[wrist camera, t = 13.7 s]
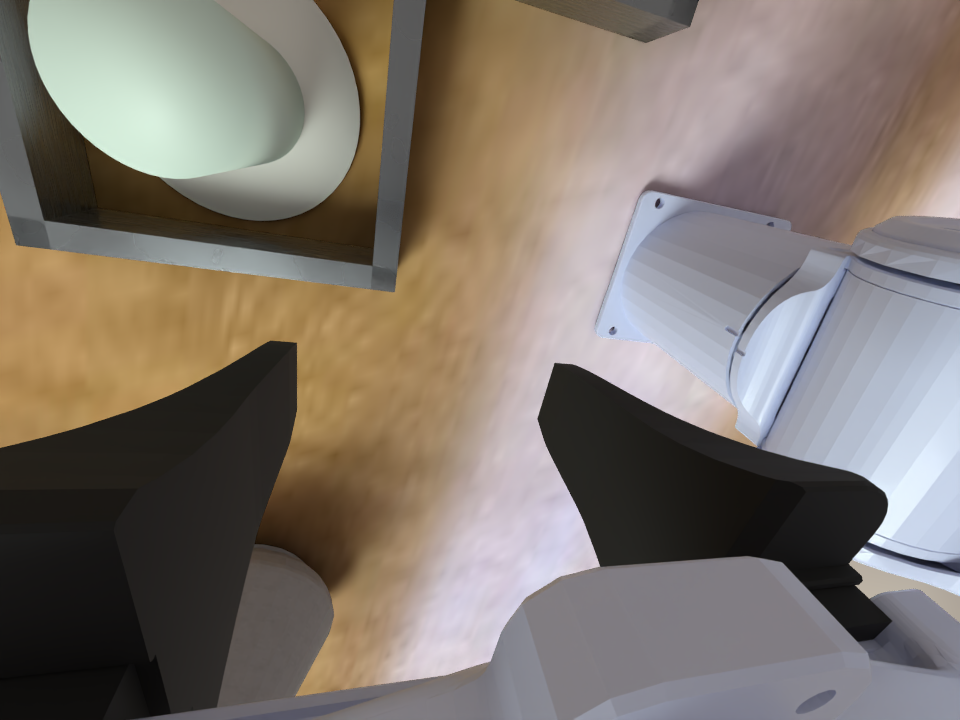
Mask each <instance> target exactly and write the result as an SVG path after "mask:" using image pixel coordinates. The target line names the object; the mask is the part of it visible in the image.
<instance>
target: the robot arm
mask: <svg viewBox="0 0 960 720" xmlns="http://www.w3.org/2000/svg"><path fill="white" fill-rule="evenodd" d="M659 198H660V204H659V206H658V207H655V202H656V200H657V199H659ZM767 224H768V226H767ZM790 230H791V222H790V221H788V220H784V219H779V218H775V217H770V216H766V215H761V214H757V213H752V212H748V211H743V210H739V209H734V208H729V207H725V206H720V205H716V204H711V203H707V202H702V201H698V200H693V199H689V198H684V197H680V196H675V195H671V194H666V193H662V192H657V191H653V190H647V191H645V192H643V193H642V194H641V196H640V198H639V200H638V203H637V206H636V209H635V212H634V214H633V217H632V220H631V223H630V226H629V229H628V232H627V235H626V238H625V241H624V244H623V246H622V249H621V252H620V255H619V258H618V261H617V264H616V267H615V270H614V273H613V276H612V278H611V281H610V284H609V287H608V290H607V293H606V296H605V299H604V302H603V305H602V308H601V310H600V313H599V316H598V319H597V322H596V325H595V333H596V334H597V335H598V336H599V337H602V338H610V339H619V340H628V341H637V342H646V343H654V344H656V345H657V346H658V347H659V348H661V349H662V350H663V351H664V352H666V353H667V354H668V355H670V356H671V357H672V358H673V359H675V360H676V361H677V362H679V363H680V364H681V365H682V366H684V367H685V368H686V369H687V370H689V371H690V372H691V373H693V374H694V375H695V376H696V377H698V378H699V379H700V380H701V381H703V382H704V383H705V384H707V385H708V386H709V387H710V388H712V389H713V390H714V391H715V392H717V393H718V394H719V395H721V396H722V397H723V398H724V399H726V400H727V401H728V402H730V403H731V404H732V405H733V406H735V407H736V408H737V409H738V419H737V422H736V425H735V428H736V429H738V430H739V431H740V432H741V433H742V434H744V435H745V436H746V437H747V438H748V439H749V440H751V441H752V442H753V443H754V444H755V445H757V446H758V447H757V448H755V447H752V446H749V445H746V444H743V443H740V442H737V441H734V440H731V439H729V438H726V437H723V436H720V435H717V434H714V433H712V432H709V431H707V430H704V429H702V428H699V427H697V426H695V425H692V424H690V423H688V422H685V421H683V420H681V419H678V418H676V417H674V416H672V415H670V414H668V413H665V412H663V411H661V410H660V409H658V408H656V407H654V406H652V405H650V404H648V403H646V402H644V401H642V400H640V399H638V398H636V397H635V396H633V395H631V394H629V393H627V392H626V391H624V390H622V389H620V388H618V387H617V386H615V385H613V384H611V383H609V382H608V381H606V380H604V379H602V378H600V377H599V376H597V375H595V374H593V373H591V372H589V371H587V370H585V369H583V368H581V367H578V366H576V365H573V364H560V363H555V364H554V367H553V370H552V374H551V377H550V380H549V383H548V386H547V390H546V393H545V396H544V399H543V403H542V406H541V409H540V412H539V416H538V422H539V425H540V429H541V432H542V435H543V438H544V441H545V444H546V447H547V449H548V451H549V453H550V455H551V457H552V459H553V461H554V463H555V465H556V467H557V469H558V471H559V473H560V475H561V477H562V479H563V480H564V482H565V484H566V486H567V488H568V490H569V492H570V494H571V496H572V498H573V500H574V502H575V504H576V506H577V508H578V510H579V512H580V514H581V517H582V519H583V521H584V523H585V526H586V529H587V531H588V534H589V537H590V539H591V542H592V544H593V547H594V550H595V552H596V555H597V558H598V561H599V564H600V567H597V568H593V569H589V570H585V571H581V572H577V573H573V574H569V575H565V576H561V577H559V578H557V579H556V580H554V581H552V582H551V583H549V584H548V585H546V586H544V587H543V588H541V589H539V590H538V591H536V592H534V593H533V594H531V595H530V596H528V597H526V598H525V600H524V601H523V602H522V604H521V605H520V606H519V608H518V609H517V610H516V612H515V613H514V614H513V616H512V617H511V618H510V620H509V621H508V622H507V624H506V625H505V627H504V629H503V630H502V632H501V635H500V637H499V640H498V643H497V646H496V648H495V651H494V654H493V657H492V660H491V662H487V663H484V664H480V665H477V666H474V667H471V668H468V669H465V670H461V671H458V672H455V673H452V674H449V675H446V676H438V677H431V678H424V679H417V680H410V681H403V682H396V683H389V684H381V685H374V686H367V687H360V688H353V689H346V690H339V691H332V692H325V693H317V694H310V695H303V696H296V697H289V698H282V699H275V700H268V701H260V702H253V703H246V704H239V705H232V706H225V707H218V708H217V705H218V700H219V695H220V690H221V685H222V681H223V676H224V671H225V667H226V662H227V658H228V653H229V649H230V644H231V640H232V635H233V631H234V626H235V622H236V618H237V613H238V609H239V605H240V601H241V596H242V592H243V588H244V584H245V580H246V575H247V571H248V567H249V563H250V559H251V555H252V551H253V547H254V543H255V540H256V536H257V532H258V529H259V526H260V523H261V519H262V516H263V514H264V511H265V508H266V506H267V503H268V500H269V498H270V495H271V492H272V490H273V487H274V484H275V482H276V479H277V476H278V473H279V471H280V468H281V465H282V463H283V460H284V457H285V455H286V452H287V449H288V446H289V443H290V440H291V435H292V431H293V426H294V422H295V417H296V412H297V343H293V342H280V341H269V342H267V343H265V344H263V345H262V346H260V347H258V348H257V349H255V350H253V351H252V352H250V353H249V354H247V355H245V356H244V357H242V358H240V359H239V360H237V361H235V362H233V363H232V364H230V365H228V366H227V367H225V368H223V369H222V370H220V371H218V372H216V373H214V374H212V375H210V376H208V377H206V378H204V379H202V380H200V381H199V382H197V383H195V384H193V385H191V386H189V387H187V388H185V389H183V390H181V391H178V392H176V393H174V394H172V395H169V396H167V397H165V398H162V399H160V400H157V401H155V402H152V403H150V404H147V405H145V406H142V407H140V408H137V409H134V410H132V411H129V412H126V413H123V414H119V415H116V416H113V417H110V418H107V419H104V420H101V421H98V422H95V423H92V424H89V425H86V426H83V427H80V428H76V429H73V430H69V431H65V432H62V433H58V434H54V435H51V436H47V437H43V438H39V439H35V440H31V441H27V442H23V443H19V444H15V445H11V446H7V447H2V448H0V720H960V623H959V622H958V621H957V620H956V619H954V618H953V617H952V616H951V615H950V614H948V613H947V612H946V611H945V610H943V609H942V608H941V607H940V606H939V605H938V604H936V603H935V602H934V601H933V600H932V599H931V598H929V597H928V596H927V595H926V594H925V593H923V592H922V591H921V590H918V589H909V590H899V591H891V592H884V593H880V594H878V595H876V596H874V597H872V598H870V599H869V598H868V597H867V596H866V595H865V594H863V593H862V592H861V591H860V590H859V589H858V588H857V587H856V586H855V585H859V584H860V583H861V582H862V581H863V580H862V576H861V575H860V574H859V573H858V572H857V571H856V570H855V569H853V568H852V567H851V566H850V565H849V563H850V561H851V560H854V561H856V562H859V563H861V564H864V565H867V566H870V567H873V568H876V569H879V570H882V571H884V572H888V573H891V574H895V575H898V576H902V577H905V578H909V579H913V580H916V581H920V582H924V583H927V584H929V585H932V586H935V587H938V588H941V589H944V590H946V591H949V592H951V593H953V594H956V595H958V596H960V219H956V218H944V217H928V216H895V217H892V218H890V219H888V220H886V221H884V222H882V223H879V224H877V225H876V226H875V227H871V228H866V229H863V230H861V231H860V232H859V233H858V234H857V236H856V238H855V240H854V242H853V244H852V245H848V244H843V243H839V242H835V241H831V240H826V239H822V238H818V237H814V236H809V235H805V234H801V233H797V232H792V231H790ZM612 327H614V329H613V331H611V332H609V330H610V328H612Z"/></svg>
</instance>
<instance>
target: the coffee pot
mask: <svg viewBox="0 0 960 720" xmlns="http://www.w3.org/2000/svg"><path fill="white" fill-rule="evenodd" d="M333 618H334V611H333V605H332V600H331V596H330V594H329V591H328V588H327V586H326V585H325V583H324V582H323V581H322V579H321V578H320V576H319V575H318V574H317V573H316V572H315V571H314V570H313V569H311V568H310V567H309V566H307V565H306V564H305V563H304V562H303V561H302V560H301V559H300V558H298V557H297V556H296V555H294V554H293V553H290V552H288V551H286V550H284V549H281V548H278V547H273V546H269V545H263V544H254V547H253V551H252V555H251V559H250V563H249V567H248V571H247V575H246V580H245V584H244V588H243V592H242V596H241V601H240V605H239V609H238V613H237V618H236V622H235V626H234V631H233V635H232V640H231V644H230V649H229V653H228V658H227V662H226V667H225V671H224V676H223V681H222V685H221V690H220V695H219V700H218V705H217V708H218V707H225V706H232V705H239V704H246V703H253V702H260V701H268V700H275V699H282V698H289V697H295V695H296V694H297V692H298V690H299V688H300V686H301V684H302V682H303V681H304V679H305V677H306V675H307V673H308V671H309V670H310V668H311V666H312V664H313V662H314V660H315V658H316V657H317V655H318V653H319V651H320V649H321V647H322V645H323V644H324V642H325V640H326V638H327V636H328V634H329V632H330V629H331V625H332V621H333Z"/></svg>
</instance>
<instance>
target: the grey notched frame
mask: <svg viewBox="0 0 960 720" xmlns="http://www.w3.org/2000/svg"><path fill="white" fill-rule="evenodd" d="M516 1H519V2H522V3H525V4H528V5H531V6H535V7H538V8H541V9H544V10H547V11H550V12H553V13H556V14H559V15H562V16H565V17H568V18H571V19H574V20H577V21H580V22H583V23H587V24H590V25H593V26H596V27H599V28H602V29H605V30H608V31H611V32H614V33H617V34H620V35H623V36H626V37H629V38H632V39H635V40H638V41H642V42H645V43H647V42H650V41H653V40H655V39H658V38H661V37H664V36H666V35H669V34H672V33H674V32H677V31H680V30H683V29H685V28H688V27H690V25H691V22H692V19H693V16H694V13H695V10H696V7H697V4H698V1H699V0H516ZM29 2H30V0H0V192H1V196H2V199H3V202H4V206H5V209H6V213H7V216H8V219H9V223H10V226H11V229H12V233H13V236H14V239H15V243H16V245H19V246H27V247H36V248H44V249H52V250H60V251H68V252H76V253H84V254H92V255H100V256H108V257H116V258H124V259H132V260H140V261H148V262H156V263H164V264H172V265H180V266H188V267H196V268H204V269H212V270H220V271H228V272H236V273H244V274H252V275H260V276H268V277H276V278H284V279H292V280H301V281H309V282H317V283H325V284H333V285H341V286H349V287H357V288H365V289H373V290H381V291H389V292H395V285H396V275H397V266H398V257H399V248H400V238H401V229H402V220H403V210H404V201H405V192H406V182H407V173H408V164H409V154H410V145H411V136H412V126H413V117H414V108H415V99H416V89H417V80H418V71H419V61H420V52H421V43H422V33H423V24H424V15H425V5H426V0H394V6H393V18H392V31H391V43H390V55H389V68H388V80H387V93H386V105H385V118H384V130H383V143H382V155H381V167H380V180H379V192H378V205H377V217H376V230H375V242H374V249H372V248H365V247H358V246H351V245H345V244H338V243H331V242H325V241H318V240H311V239H305V238H298V237H291V236H284V235H278V234H271V233H264V232H258V231H251V230H244V229H237V228H231V227H224V226H217V225H211V224H204V223H197V222H191V221H184V220H177V219H170V218H164V217H157V216H150V215H144V214H137V213H130V212H123V211H117V210H110V209H103V208H97V203H96V198H95V193H94V188H93V183H92V179H91V174H90V169H89V164H88V159H87V154H86V149H85V144H84V139H83V135H82V134H81V133H80V132H79V131H78V130H77V129H76V128H75V127H74V126H73V125H72V124H71V123H70V121H69V120H68V119H67V118H66V117H65V115H64V114H63V113H62V112H61V111H60V109H59V108H58V106H57V105H56V103H55V102H54V100H53V99H52V97H51V96H50V94H49V92H48V90H47V89H46V87H45V85H44V83H43V81H42V79H41V77H40V74H39V72H38V70H37V67H36V65H35V61H34V58H33V55H32V52H31V47H30V42H29V36H28V9H29Z"/></svg>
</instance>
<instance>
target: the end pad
mask: <svg viewBox="0 0 960 720" xmlns="http://www.w3.org/2000/svg"><path fill="white" fill-rule="evenodd" d="M214 1H216V2H217V3H218V4H219V5H221V6H222V7H223V8H225V9H226V10H227V11H228V12H230V13H231V14H232V15H233V16H235V17H236V18H237V19H239V20H240V21H241V22H242V23H244V24H245V25H246V26H247V27H249V28H250V29H251V30H253V31H254V32H255V33H256V34H258V35H259V36H260V37H261V38H263V39H264V40H265V41H267V42H268V43H269V44H270V45H272V46H273V47H274V48H275V49H276V50H277V51H278V52H279V53H280V54H281V56H282V57H283V58H284V59H285V60H286V62H287V63H288V65H289V66H290V68H291V69H292V71H293V73H294V75H295V76H296V78H297V81H298V83H299V86H300V89H301V92H302V96H303V101H304V111H305V115H304V124H303V129H302V132H301V135H300V137H299V139H298V141H297V143H296V144H295V146H294V147H293V149H292V150H291V151H290V152H289V153H288V154H286V155H285V156H283V157H282V158H280V159H278V160H276V161H273V162H270V163H266V164H261V165H256V166H251V167H246V168H241V169H236V170H231V171H227V172H222V173H217V174H212V175H207V176H202V177H196V178H190V179H172V178H163V177H160V178H161V179H162V180H163V181H165V182H166V183H167V184H168V185H169V186H171V187H172V188H174V189H175V190H176V191H178V192H179V193H180V194H182V195H183V196H185V197H187V198H189V199H190V200H192V201H194V202H195V203H197V204H199V205H201V206H204V207H206V208H208V209H210V210H212V211H215V212H218V213H221V214H224V215H227V216H230V217H235V218H240V219H245V220H255V221H271V220H279V219H285V218H290V217H293V216H296V215H299V214H302V213H304V212H306V211H308V210H310V209H312V208H314V207H315V206H317V205H318V204H320V203H321V202H323V201H324V200H325V199H326V198H327V197H328V196H329V195H330V194H331V193H333V192H334V190H335V189H336V188H337V187H338V185H339V184H340V183H341V182H342V180H343V179H344V177H345V175H346V173H347V172H348V170H349V168H350V166H351V163H352V161H353V158H354V156H355V152H356V148H357V144H358V138H359V130H360V105H359V97H358V90H357V86H356V82H355V77H354V74H353V71H352V68H351V65H350V62H349V59H348V56H347V54H346V52H345V50H344V48H343V46H342V44H341V41H340V39H339V37H338V36H337V34H336V32H335V31H334V29H333V27H332V26H331V24H330V22H329V21H328V19H327V18H326V17H325V15H324V14H323V13H322V11H321V10H320V8H319V7H318V6H317V4H316V3H315V2H314V1H313V0H214Z"/></svg>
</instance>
